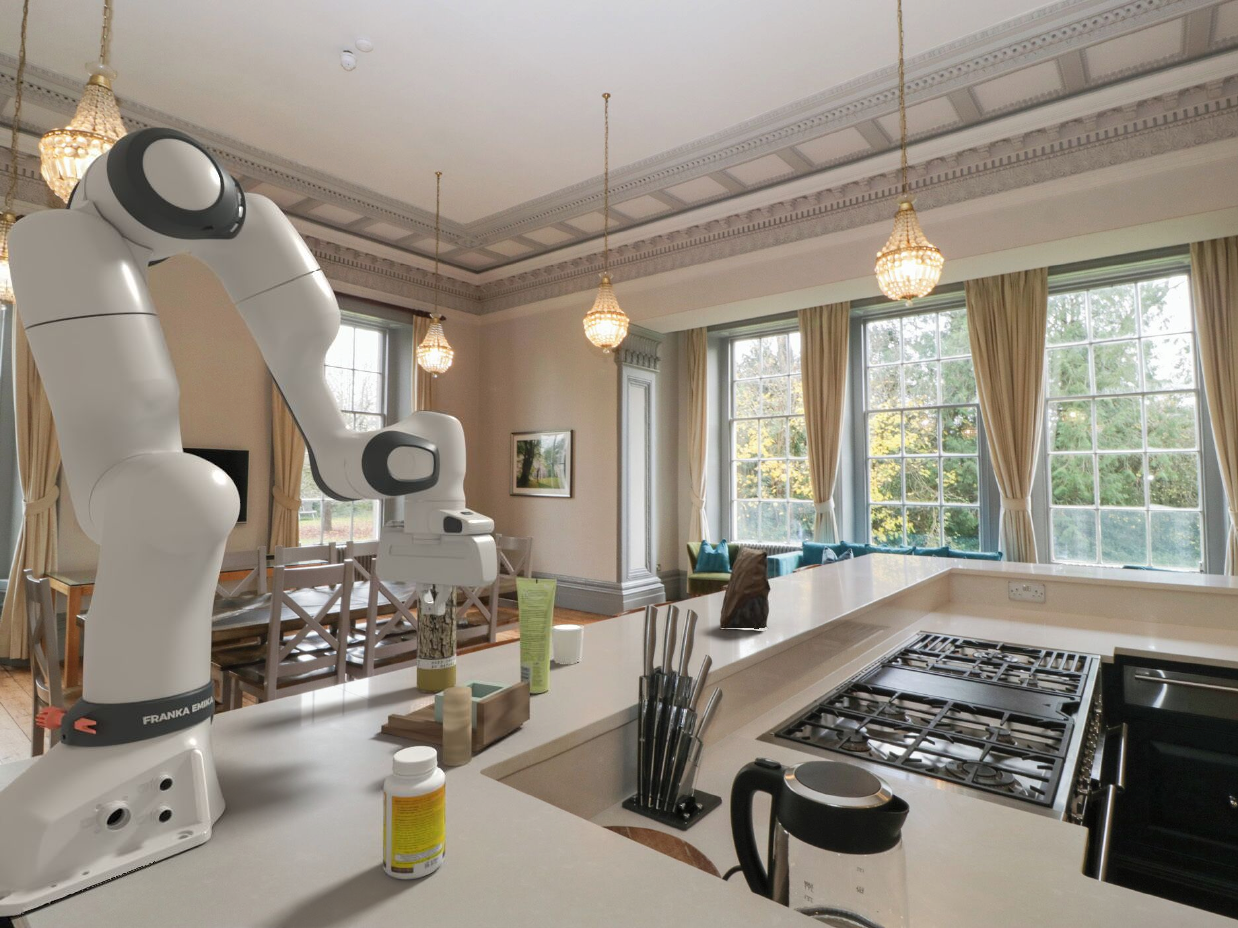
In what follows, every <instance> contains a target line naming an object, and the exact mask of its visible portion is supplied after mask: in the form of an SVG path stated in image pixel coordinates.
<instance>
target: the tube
mask: <svg viewBox="0 0 1238 928" xmlns="http://www.w3.org/2000/svg"><path fill="white" fill-rule="evenodd" d="M557 580H558V579H557V578H552V579H550V578H530V577H529V578H527V577H525V578H524V577H516V578H515V583H516V592H517V593H516V594H517V603H518V604H517V605H518V606H517V607H518V621H519V622H518V624H519V652H520V656H519V657H520V662H519V663H520V672H519V673H520V675H519V676H520V682H521V681H529V682H530V694H542V693H545V692H547V690H549V689H550V667H551V648H552V647H551V646H552V645H551V644H552V626H553V618H554V605H555V595H556V589H557V583H558V582H557Z"/></svg>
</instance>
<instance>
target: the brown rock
mask: <svg viewBox="0 0 1238 928" xmlns="http://www.w3.org/2000/svg"><path fill="white" fill-rule="evenodd" d="M768 562H769V561H768V551H767V550H766V549H764V548H763V549H756V548H755V549H754V548H750V547H749V546H747V547H746V546H742V547H741V549H740V551H739V553H738V556H737V558H736V560H735V561H734V564H733V565H732V568H731V572H730V576H729V580H728V582H727V586H726V590H725V593H724V597H723V602H722V608H721V610H720V619H719V624H720V625H719V626H720V627H721V628H754V629H759V628H765V627H767V628H768V625H767V623H768V617H769V614H770V613H769V612H770V606H769V604H770V602H769V599H768V598H769V593H771V586H770V583H769V577H768V573H769V572H768V565H769V564H768ZM720 627H719V628H720Z"/></svg>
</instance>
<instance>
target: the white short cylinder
mask: <svg viewBox="0 0 1238 928" xmlns="http://www.w3.org/2000/svg"><path fill="white" fill-rule="evenodd" d="M584 633H585V626H584V625H582V624H575V623H564V624H556V625H552V633H551V644H552V651H553V652H552V653H553V662H554V661H555V662H556V663H555V662H554V663H555V664H557V663H563V664H562V665H564V663H565V664H568V665H572V664H571V663H576V664H578V663H577V662H579V661H581V662H582V658H583V645H584V635H585V634H584Z"/></svg>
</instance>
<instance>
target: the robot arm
mask: <svg viewBox="0 0 1238 928" xmlns="http://www.w3.org/2000/svg"><path fill="white" fill-rule="evenodd" d="M6 245H7V247H6V248H7V260H8V267H9V275H10V280H11V285H12V290H13V296H14V300H15V303H16V307H17V311H18V314H19V318H20V321H21V325H22V328H23V330H24V334H25V336H26V339H27V342H28V346H29V348H30V351H31V354H32V356H33V359H34V362H35V366H36V368H37V371H38V374H39V377H40V380H41V383H42V386H43V388H44V391H45V394H46V398H47V401H48V404H49V407H50V410H51V413H52V418H53V423H54V426H55V427H54V429H55V433H56V438H57V444H58V448H59V453H60V459H61V462H62V467H63V470H64V475H65V479H66V480H65V481H66V483H67V487H68V491H69V496H70V498H71V499H70V500H71V502H72V506H73V510H74V514H75V519H76V521H77V523H78V525H79V527H80V529H81V531H82V532H83V533H84V534H85V536H86V537H87V538H88V539H89V540H91V541H92V542H93V543H95V544H96V545H98V546H99V548H100V549H99V555H98V557H99V558H98V564H97V569H96V575H95V579H94V581H95V582H94V586H93V590H92V591H93V592H92V596H91V601H90V603H89V608H88V610H87V612H86V615H85V617H84V633H83V634H84V635H83V636H84V637H83V638H84V639H83V640H84V641H83V662H82V663H83V665H82V666H83V667H82V669H83V670H82V671H83V672H82V674H83V675H82V695H81V696H80V697H78V698H77V701H76V702H75V703H74V705H72V707H71V708H69V709H68V710H67V709H65V708H62V707H58V706H54V705H49V706H45V707H43V708H41V709H40V710H39V712H40V713H37V714H36V716H35V717H36V718H35V719H34V720H35V721H36V722H35V724H36V725H37V726H38V727H39V728H44V729H48V730H54V731H55V730H58V729H60V734H59V735H60V736H59V741H58V742H57V743H55V745H53V746H52V747H51V748H50V749H49V750H48V751H47V752H45V753H44V754H43V755H42V756H40V758H38V759H37V760H36V761H34V763H33V764H31V765H30V766H29V767H28V768H27V769H26V770H24V771H23V772H22V773H21V774H20V775H19V776H17V777H16V778H15V779H14V780H12V782H10V783H9V784H7V785H6V786H5V787H4V788H2V790H0V917H10V916H19V915H22V914H21V912H22V910H23V908H27V907H30V906H35V905H38V904H42V903H43V902H48V901H49V900H52V899H53V898H56V897H58V896H61V895H64V894H65V893H70V892H71V891H75V890H76V889H81V888H82V887H87V886H88V885H92V884H94V883H95V884H96V883H98V882H101V881H105V880H107V879H110V880H112V879H111V878H112V877H115V878H117V877H116V876H118V875H120V876H123V875H124V874H123V873H126V874H128V873H127V871H131V870H132V869H136V868H137V867H141V866H143V867H146V866H148V865H150V864H149V863H151V864H153V862H154V861H155V862H158V861H162V860H163V859H166V858H169V857H171V856H174V855H176V854H179V853H182V852H184V851H186V850H188V849H191V848H194V847H197V846H200V845H202V844H204V843H206V842H207V841H209V840H210V838H211V837H212V834H213V833H212V832H213V825H214V824H215V822H216V821H217V820H218V819H219V818H220V817H221V816H222V815H223V813H224V812H225V809H226V801H225V798H224V797H223V793H222V791H221V787H220V783H219V779H218V774H217V768H216V764H215V756H214V747H213V739H212V738H213V735H212V724H213V721H214V716H215V711H216V709H215V708H216V706H215V703H216V702H215V701H216V696H215V695H216V691H215V690H216V687H215V685H216V684H215V680H214V678H213V677H212V676H211V666H212V665H211V660H212V630H213V629H212V625H213V624H212V621H213V620H212V619H213V610H214V601H215V597H216V591H217V586H218V582H219V578H220V572H221V569H222V565H223V561H224V556H225V551H226V546H227V542H228V537H229V536H230V534H231V532H232V531H233V529H234V527H235V526H236V524H237V521H238V519H239V515H240V510H241V503H240V502H241V499H240V494H239V491H238V488H237V486H236V484H235V483H234V480H233V479H232V478H231V477H230V476H229V475H228V474H227V472H225V470H223V469H222V468H220V467H219V466H218V465H215V464H214V463H213V462H211V461H208V460H206V459H205V458H202V457H201V456H197V455H195V454H192V453H187V452H184V449H183V443H182V436H181V425H180V413H179V410H180V409H179V408H180V407H179V405H180V404H179V403H180V396H181V390H180V389H181V388H180V385H179V381H178V377H177V374H176V370H175V368H174V364H173V361H172V359H171V354H170V352H169V348H168V345H167V341H166V338H165V335H164V332H163V329H162V325H161V322H160V319H159V316H158V312H157V310H156V307H155V304H154V300H153V298H152V296H151V293H150V290H149V288H148V287H149V282H148V267H152V266H155V265H158V264H160V263H163V262H164V261H167V260H168V259H169V258H171V257H172V256H175V255H178V254H182V253H188V254H189V255H190V256H193V257H194V258H196V259H197V260H199V261H200V262H202V263H203V264H204V265H205V266H206V267H208V269H210V270H211V272H212V273H214V275H215V277H216V278H217V279H219V281H220V282H221V284H222V286H223V288H224V290H225V292H226V293H227V295H228V296H229V299H230V300H231V302H232V303H233V305H234V304H235V305H234V307H235V309H236V310H237V312H238V313H239V315H240V317H241V319H242V320H243V322H244V323H245V325H246V327H247V328H248V330H249V332H250V334H251V335H252V337H253V339H254V341H255V342H256V344H257V346H258V349H259V351H260V353H261V355H262V357H263V360H264V363H265V365H266V367H267V370H268V372H269V373H268V374H270V377H271V379H272V381H273V383H274V385H275V388H276V389H277V392H278V394H279V395H280V397H281V399H282V402H283V403H284V404H285V407H286V408H287V410H288V412H289V414H290V416H291V418H292V420H293V422H294V424H295V427H297V430H298V432H299V433H300V436H301V438H302V439H303V442H304V444H305V448H306V450H307V455H308V460H309V467H310V472H311V477H312V479H313V480H314V481H313V482H314V483H315V485H316V486H317V487H318V489H319V491H321V492H322V493H323V494H324V495H326V496H327V497H328V498H329V499H332V500H334V501H338V502H342V503H343V502H345V503H347V502H348V503H349V502H355V501H361V500H380V499H384V500H385V499H395V498H396V499H397V498H399V497H401V496H402V497H403V496H404V500H403V501H404V502H403V503H404V504H403V505H404V506H403V507H404V509H403V510H404V511H403V520H396V519H391V520H388V521H387V522H386V523H384V524H383V526H382V527H381V529H380V538H379V541H378V547H377V552H376V559H375V574H376V577H377V579H378V580H379V581H383V582H397V583H398V582H399V583H400V582H401V583H410V584H411V583H413V584H415V592H416V595H417V594H418V596H419V598H420V600H421V602H422V613H423V614H429V615H443V614H445V604H446V601H447V600H448V598H449V596H450V594H451V592H452V585H453V586H457V587H470V588H471V587H472V588H482V587H487V586H492V585H493V583H494V582H495V581H496V579H497V575H498V558H497V557H498V555H497V544H496V542H495V539H494V537H493V536H492V535H491V533H493V532H494V530H495V522H494V520H493V518H491V517H488V516H486V515H484V514H481V513H479V512H476V511H474V510H471V509H470V508H466V495H465V491H464V479H465V476H466V473H467V472H466V471H467V470H466V469H467V451H466V450H467V449H466V437H465V431H464V428H463V426H462V423H461V422H460V420H459V419H457V418H456V416H453V415H451V414H449V413H446V412H442V411H438V410H431V409H420V410H416V411H413V412H411V413H410V415H408V417H406V418H404V419H403V420H401V421H399V422H396V423H394V424H392V425H389V426H386V427H385V426H384V427H383V428H382V427H381V428H379V429H375V430H369V431H364V432H360V431H357V430H355V429H354V428H353V427H351V426H350V424H349V423H348V422H347V420H346V418H345V416H344V415H343V413H342V412H343V411H342V409H341V408H340V406H339V404H338V402H337V400H336V398H335V395H334V394H333V391H332V389H331V388H330V385H329V383H328V381H327V379H326V378H327V377H326V374H325V369H324V366H325V359H326V356H327V353H328V350H330V348H331V346H332V344H333V343H334V342H335V340H336V338H337V335H338V334H339V330H340V326H341V319H342V315H341V310H340V307H339V304H338V300H337V299H336V295H335V293H334V291H333V288H332V287H331V285H330V283H329V280H328V279H327V277H326V276H325V274H324V272H323V270H322V269H321V267H320V265H319V263H318V261H317V260H316V258H315V256H314V254H313V253H312V251H311V250H310V249H309V247H308V245H307V243H306V242H305V241H304V239H303V238H302V236H301V235H300V234H299V232H298V230H297V229H296V228H295V226H294V225H293V224H292V223H291V221H290V220H289V218H288V217H287V216H286V215H285V214H284V213H283V211H282V210H281V209H280V207H278V205H277V204H276V203H275V202H274V201H273V200H271V199H270V198H268V197H266V196H264V195H262V194H259V193H254V192H244V189H243V186H242V185H241V183H240V181H238V179H237V178H235V177H234V176H233V175H232V174H230V173H229V171H228V170H227V168H226V167H225V166H224V164H223V163H222V161H221V160H220V159H219V158H218V157H217V156H216V155H215V154H214V153H213V152H212V151H211V150H210V149H208V148H207V147H206V146H205V145H203V143H201V142H200V141H198V140H197V139H196V138H194V137H192V136H191V135H188V134H187V133H185V132H182V131H180V130H178V129H177V130H176V129H173V128H170V127H168V128H167V127H157V126H155V127H147V128H142V129H139V130H134V131H131V132H130V133H128V134H125V135H123V136H122V137H120V138H119V139H118V140H117V141H116V142H115V143H114V144H113V145H112V147H111V148H109V149H108V150H107V151H104V153H101V154H100V155H99V156H97V157H96V158H95V159H94V160H93V161H92V162H91V163H90V165H89V166H88V168H86V170H85V171H84V173H83V174H82V176H81V179H79V181H77V183H76V184H75V185H74V186H73V189H72V190H71V192H70V195H69V197H68V200H67V204H66V207H65V208H54V209H52V208H51V209H45V210H39V211H36V212H32V213H29V214H27V215H25V216H23V217H22V218H20V219H18V220H17V221H16V222H15V223H13V225H12V226H11V227H10V229H9V231H8V234H7V236H6ZM319 269H320V270H319ZM433 584H436V592H439V593H438V595H437V598H436V600H435V601H434V600H433V598H432V595H431V592H430V589H432V588H433ZM155 862H154V863H155ZM145 865H146V866H145ZM141 868H142V867H141ZM136 870H137V869H136ZM131 872H132V871H131ZM122 874H123V875H122ZM118 877H119V876H118ZM105 882H106V881H105Z"/></svg>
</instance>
